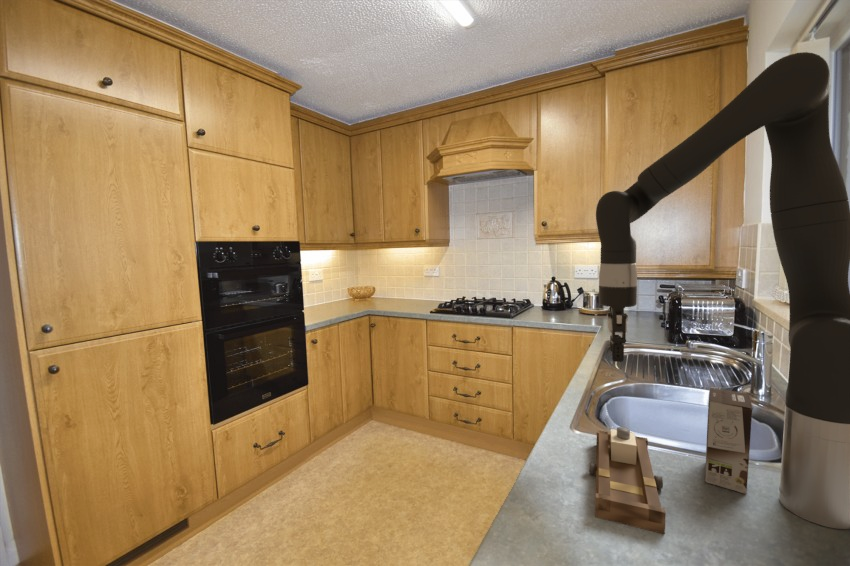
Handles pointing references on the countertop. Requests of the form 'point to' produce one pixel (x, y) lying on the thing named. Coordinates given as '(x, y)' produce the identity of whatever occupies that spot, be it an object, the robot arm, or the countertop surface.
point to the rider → (623, 446)
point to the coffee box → (728, 439)
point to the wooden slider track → (627, 487)
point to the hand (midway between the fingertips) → (616, 356)
